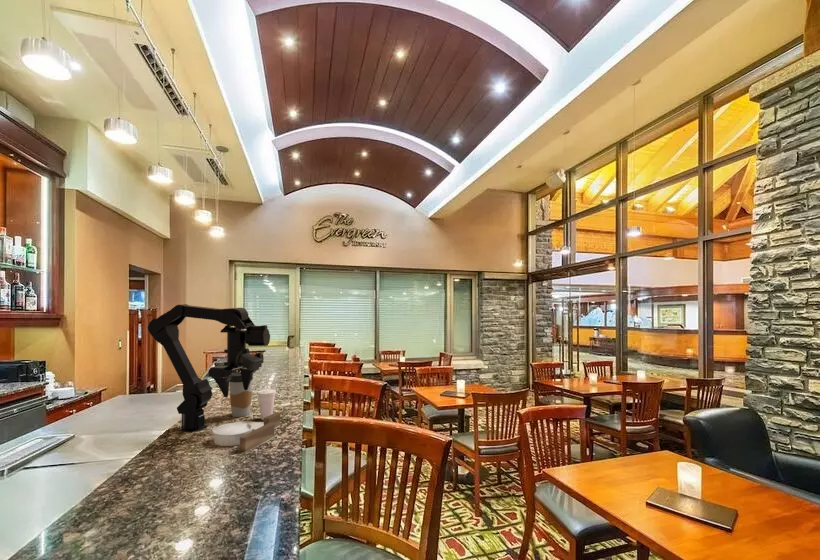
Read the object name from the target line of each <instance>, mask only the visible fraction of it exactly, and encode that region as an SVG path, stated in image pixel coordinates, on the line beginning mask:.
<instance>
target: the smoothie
mask: <svg viewBox="0 0 820 560" xmlns="http://www.w3.org/2000/svg"><path fill="white" fill-rule="evenodd" d="M256 394H257V396H258V405H259V412H260V413H259V415H260V420H261V421H264V418H265V417H267V416H269V415H271V414H273V412H274V405H275V397H276V394H277V390H276V389H272V388H270V389H269V378H266V389H261V390H258V391H257V393H256Z"/></svg>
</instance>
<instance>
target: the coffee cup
mask: <svg viewBox="0 0 820 560" xmlns="http://www.w3.org/2000/svg"><path fill="white" fill-rule="evenodd" d="M231 376H233V377H232V378H231V379H230V381H229V400H230V401H229V402H230V410H231V411H230V413H231V415H232V417H234V418H241V417H242V418H243V417H246V416H249V415H250V413H251V406H252V405H251V404H252V393H253V390H252V389H253V379H254V378H253V377H254V376H252V378H251V381H250V384H249V387H248V390H244V387H243V382H242V377H241V372H240V371H236V372H232V374H231Z"/></svg>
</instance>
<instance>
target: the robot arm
mask: <svg viewBox="0 0 820 560" xmlns="http://www.w3.org/2000/svg"><path fill="white" fill-rule="evenodd" d="M186 318H192V319H193V318H194V319H200V320H201V319H202V320H211V321H215V322H219V323H221V324H223V325H225V326H224V327H223V328H222V329H221V330H220V333H221V334H223V333H226V348H225V349H224V350H223V353H224V354H226V361H224V362H223V365H215V366H212V367H210V368H209V369H208V373H207V374H208V377H210V378H211V379H213V380H214V381H215V383H216V384H217V386H218V388H219V390H220V391H221V393H222V395H223V398H228V397H229V394H230V384H229V381H230V379H231V378H232V377H233V376H231V374H232V373H233V372H235V371H237V370H239V372H241V377H242V382H243V387H244V390H248V387H249V384H250V381H251V378H252V376H253V375H254V374H255V373H256V372H257V371H258V370H260V368H261V367H262V365H263V363H264V360H265V359H264V353H263V352H256V353H253V354H252V353H250V349H249V348H248V347H247V345H248V346H249V347H268V345H269V344H270V340H271V334H270V330H269V329H268V325H267V324H265V325H264V324H263V325H255V323H254V322H253V320H252V319H251V318H250V316H249V313H248V311H247V309H246V308H244V307H230V308H215V307H207V306H206V307H205V306H199V305H198V306H197V305H192V304H191V305H189V304H185V303H184V304H177V305H175V306H174V307H172V308H171V309H170V310H168V311H166V312H165V313H163V314H161V315H159V316H158V317H157V318H154V319H152V320H151V321H150V322H149V323H148V326H147V331H148V333H149V334H150V336H151V337H152V338H153V340H154V341H156V343H158V344H160V345H161V346H162V347H163V349H164V350H165V352H166V355H167V356H168V359H169V360H170V362H171V365H172V366H173V369H174V370H175V372H176V374H177V376H178V378H179V380H180V382H181V384H182V397H183V401H182V402H181V403H180V404H178V406H177V407H176V410H177V412H178V413H177V414H179V415H181V427H180V428H177V431H179V430H180V431H181V432H186V433H196V432H198V431H200V430H203V429H205V428H207V427H209V425H208V424H206V423H205V422H206V421H205V419H206V416H205V409H203V408H205V407H207V406H208V403H209V402H210V401H211V399H212V396H213V391H212V390H213V387H212V386H211V384H210V382H209V380H208V378H204V379H201V378H200V377H199V376H198V374H197V372H196V370H195V368H194V367H193V365H192V363H191V361H190V359H189V357H188V355H187V353H186V351H185V350H184V347H183V346H182V344H181V341H180V337H179V335H180V330H179V327H178V326H179V325H180V324H182V322H184V320H185V319H186ZM253 377H254V376H253ZM180 431H179V432H180Z"/></svg>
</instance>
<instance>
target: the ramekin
mask: <svg viewBox="0 0 820 560" xmlns="http://www.w3.org/2000/svg"><path fill="white" fill-rule="evenodd" d="M236 422H237V423H236ZM236 422H229V423H225V424H222V425H219V426H216V427H215V428H213V429H212V437H213V442H214V445H217V446H220V447H230V446H231V447H233V446H240V437H242V436H244V435H246V434H248V433H250V432H252V431H254V430H253V426H252V425H251V424H249V423H243V422H238V421H236Z"/></svg>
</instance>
